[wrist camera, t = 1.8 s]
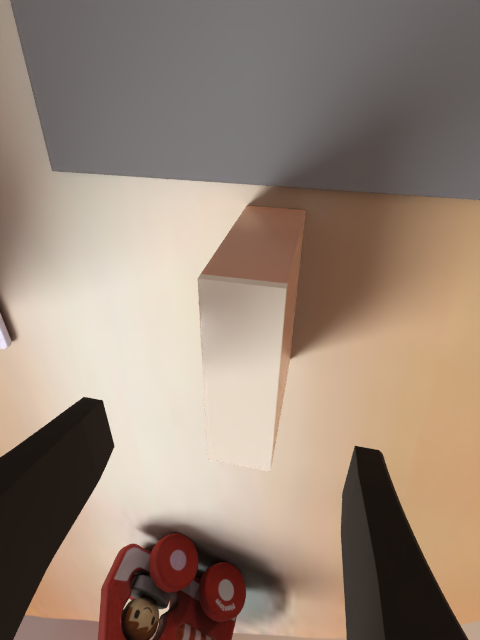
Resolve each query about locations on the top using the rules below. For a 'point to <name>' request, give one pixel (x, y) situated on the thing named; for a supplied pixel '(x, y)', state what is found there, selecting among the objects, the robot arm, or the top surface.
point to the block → (249, 333)
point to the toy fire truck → (169, 595)
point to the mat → (261, 91)
